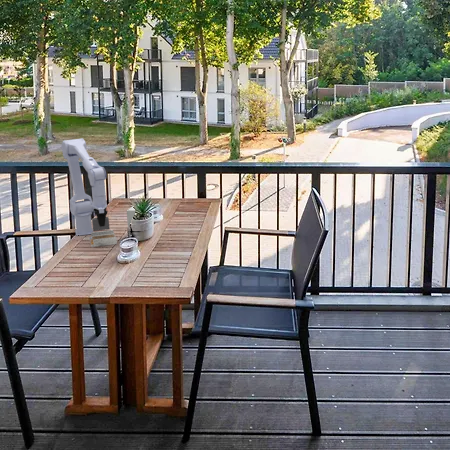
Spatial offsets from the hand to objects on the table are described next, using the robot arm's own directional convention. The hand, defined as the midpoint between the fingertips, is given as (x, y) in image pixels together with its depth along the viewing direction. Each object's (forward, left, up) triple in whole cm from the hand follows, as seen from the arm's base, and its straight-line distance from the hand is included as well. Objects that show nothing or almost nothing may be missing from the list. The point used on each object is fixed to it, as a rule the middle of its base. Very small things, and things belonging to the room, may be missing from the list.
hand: (101, 225), depth 284 cm
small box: (-16, +17, -9) cm, 25 cm away
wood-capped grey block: (0, 0, -2) cm, 2 cm away
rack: (-3, 0, -8) cm, 9 cm away
